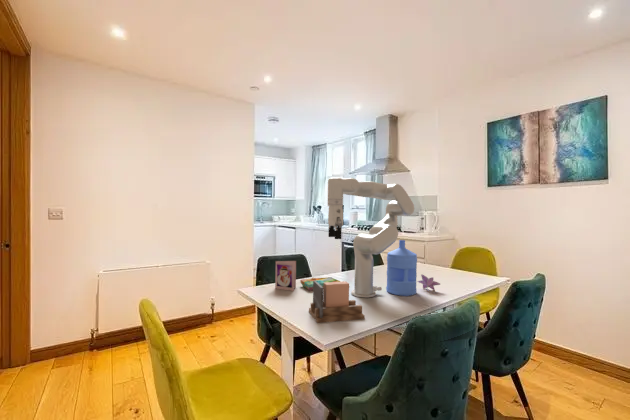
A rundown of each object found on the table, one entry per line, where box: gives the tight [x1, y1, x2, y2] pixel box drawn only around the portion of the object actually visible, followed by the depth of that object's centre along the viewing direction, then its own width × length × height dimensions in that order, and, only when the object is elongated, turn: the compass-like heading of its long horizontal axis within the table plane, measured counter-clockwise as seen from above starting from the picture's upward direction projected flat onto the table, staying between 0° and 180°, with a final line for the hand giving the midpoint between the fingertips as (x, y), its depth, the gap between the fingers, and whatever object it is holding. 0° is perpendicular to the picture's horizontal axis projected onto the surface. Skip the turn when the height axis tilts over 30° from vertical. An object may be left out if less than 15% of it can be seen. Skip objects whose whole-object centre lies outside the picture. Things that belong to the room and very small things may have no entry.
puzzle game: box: [299, 276, 342, 291], centre depth 177 cm, size 12×5×20 cm
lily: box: [416, 274, 441, 291], centre depth 172 cm, size 11×11×9 cm
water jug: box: [385, 239, 418, 297], centre depth 168 cm, size 16×16×28 cm
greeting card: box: [274, 260, 297, 292], centre depth 173 cm, size 11×7×15 cm, turn 68°
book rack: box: [308, 281, 366, 324], centre depth 131 cm, size 20×14×14 cm
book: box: [323, 280, 350, 308], centre depth 132 cm, size 10×4×12 cm, turn 105°
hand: (334, 237), depth 153 cm, fingers open, 9 cm apart
